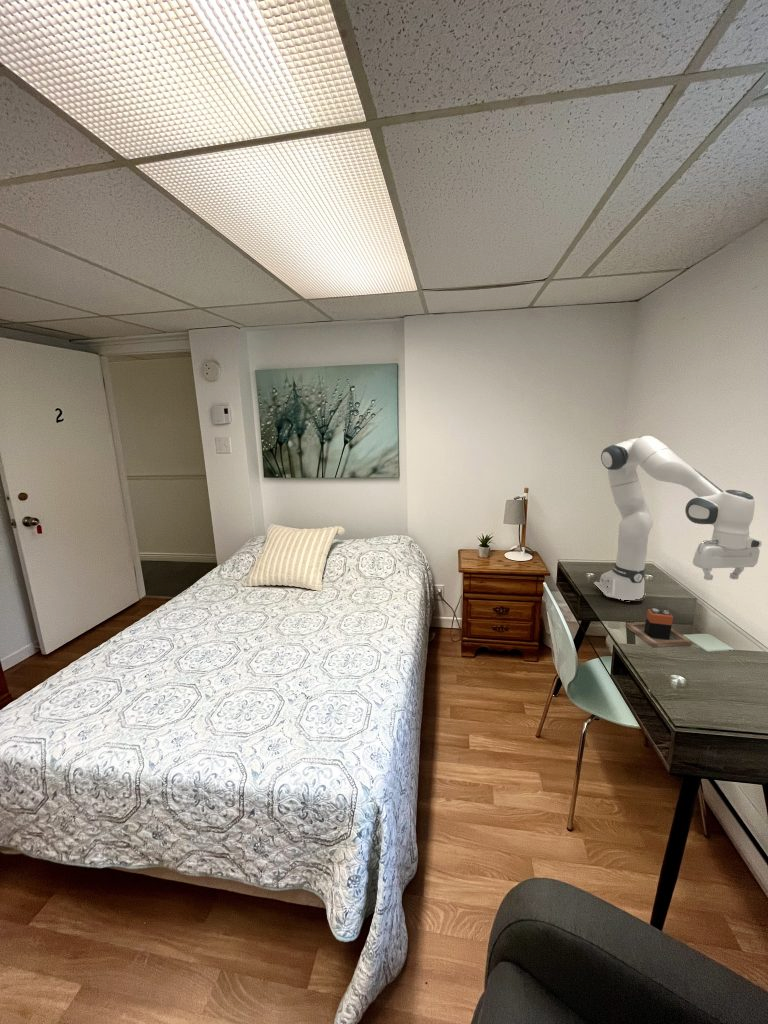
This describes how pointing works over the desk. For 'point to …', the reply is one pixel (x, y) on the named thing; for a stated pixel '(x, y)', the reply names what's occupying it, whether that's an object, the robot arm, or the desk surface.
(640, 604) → the desk surface
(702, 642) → the pad
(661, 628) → the battery
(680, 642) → the dock
